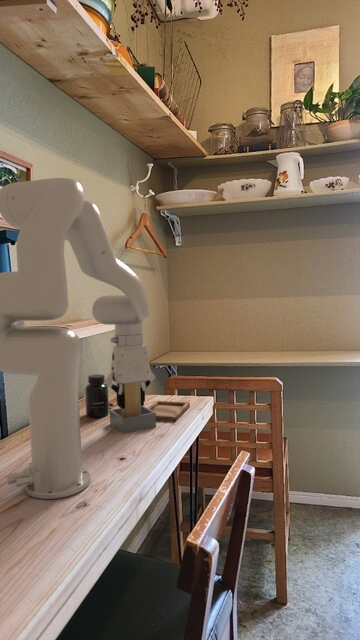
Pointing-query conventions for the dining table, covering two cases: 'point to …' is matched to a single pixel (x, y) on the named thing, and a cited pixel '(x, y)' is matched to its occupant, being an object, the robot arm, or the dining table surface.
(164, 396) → the dining table surface
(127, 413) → the skincare box
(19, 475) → the robot arm
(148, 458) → the dining table surface
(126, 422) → the holder
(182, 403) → the tray
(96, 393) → the supplement bottle
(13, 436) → the dining table surface
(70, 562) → the dining table surface
